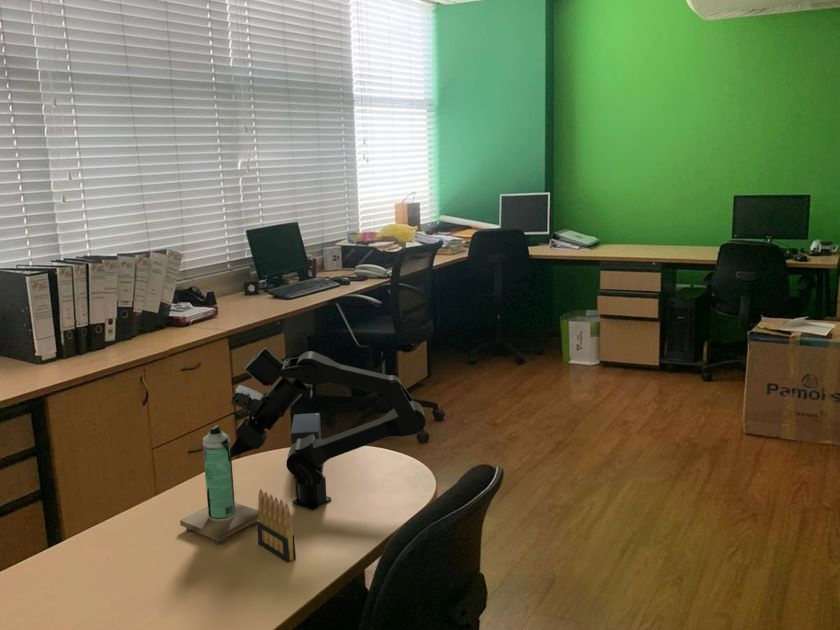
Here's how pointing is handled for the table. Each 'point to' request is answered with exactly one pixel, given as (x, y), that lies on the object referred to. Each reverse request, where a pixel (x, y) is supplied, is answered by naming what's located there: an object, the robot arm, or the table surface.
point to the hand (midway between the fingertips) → (233, 448)
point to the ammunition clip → (275, 527)
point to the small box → (305, 426)
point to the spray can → (219, 475)
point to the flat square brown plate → (220, 523)
